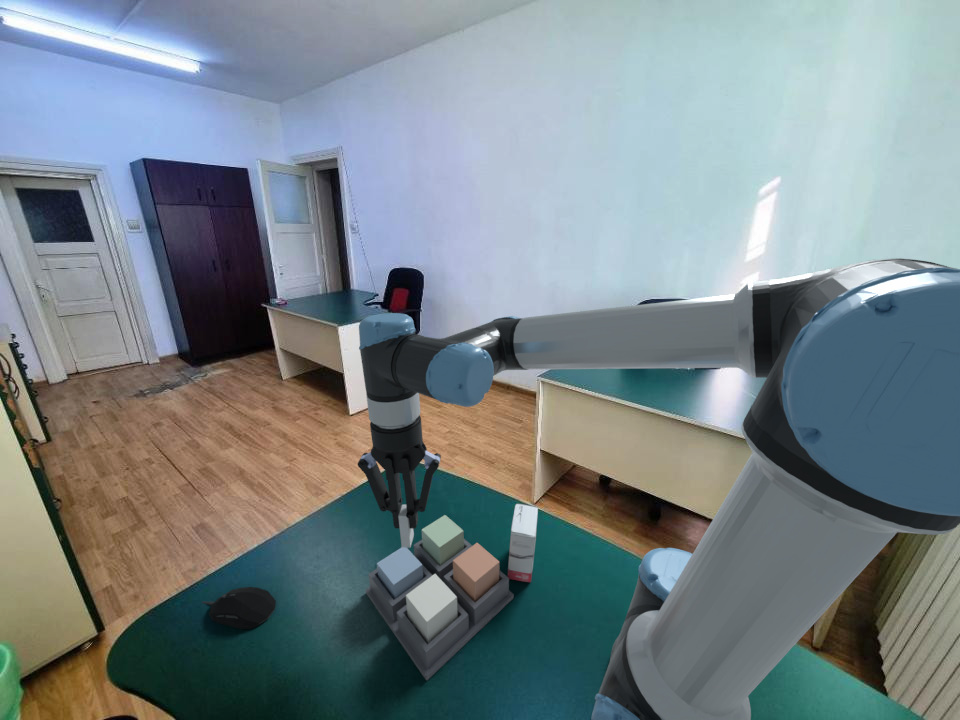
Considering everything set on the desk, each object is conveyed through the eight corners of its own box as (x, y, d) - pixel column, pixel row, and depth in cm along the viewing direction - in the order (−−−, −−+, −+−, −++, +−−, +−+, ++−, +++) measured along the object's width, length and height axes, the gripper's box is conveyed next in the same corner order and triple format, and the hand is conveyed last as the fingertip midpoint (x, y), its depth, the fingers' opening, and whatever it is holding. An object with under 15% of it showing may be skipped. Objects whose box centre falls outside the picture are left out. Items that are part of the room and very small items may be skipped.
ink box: (532, 584, 73) (535, 537, 69) (507, 579, 74) (508, 532, 70) (535, 549, 81) (538, 505, 77) (512, 545, 82) (514, 501, 78)
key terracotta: (499, 582, 69) (499, 561, 67) (475, 603, 65) (475, 582, 64) (477, 562, 73) (477, 542, 72) (453, 580, 69) (452, 560, 68)
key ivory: (457, 618, 63) (456, 596, 61) (428, 644, 59) (426, 621, 57) (436, 594, 67) (435, 573, 65) (407, 616, 63) (405, 595, 61)
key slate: (423, 584, 70) (422, 564, 68) (395, 605, 66) (393, 584, 65) (406, 564, 74) (404, 545, 73) (379, 583, 70) (376, 563, 69)
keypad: (513, 598, 70) (514, 578, 69) (426, 681, 58) (425, 659, 56) (447, 537, 84) (447, 519, 83) (365, 593, 71) (363, 573, 70)
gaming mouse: (216, 588, 73) (211, 573, 72) (284, 600, 70) (280, 584, 69) (187, 619, 67) (181, 603, 66) (260, 634, 65) (255, 617, 63)
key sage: (463, 549, 76) (463, 530, 74) (440, 567, 72) (439, 547, 71) (445, 533, 80) (445, 514, 79) (422, 548, 76) (421, 529, 75)
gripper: (442, 406, 59) (448, 525, 67) (361, 406, 60) (376, 524, 67) (434, 430, 52) (442, 560, 60) (343, 429, 53) (362, 558, 60)
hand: (407, 541), depth 63 cm, fingers closed
